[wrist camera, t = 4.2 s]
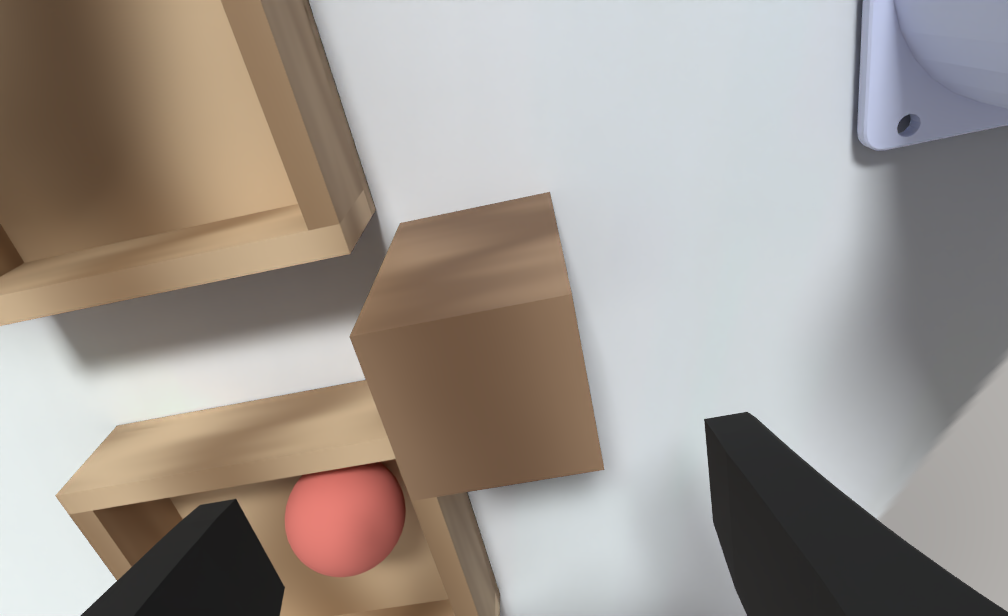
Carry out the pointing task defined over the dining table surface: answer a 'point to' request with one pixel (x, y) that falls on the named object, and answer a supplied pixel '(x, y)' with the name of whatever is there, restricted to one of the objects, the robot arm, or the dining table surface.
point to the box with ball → (280, 501)
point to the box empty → (166, 149)
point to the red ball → (345, 518)
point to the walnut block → (478, 352)
